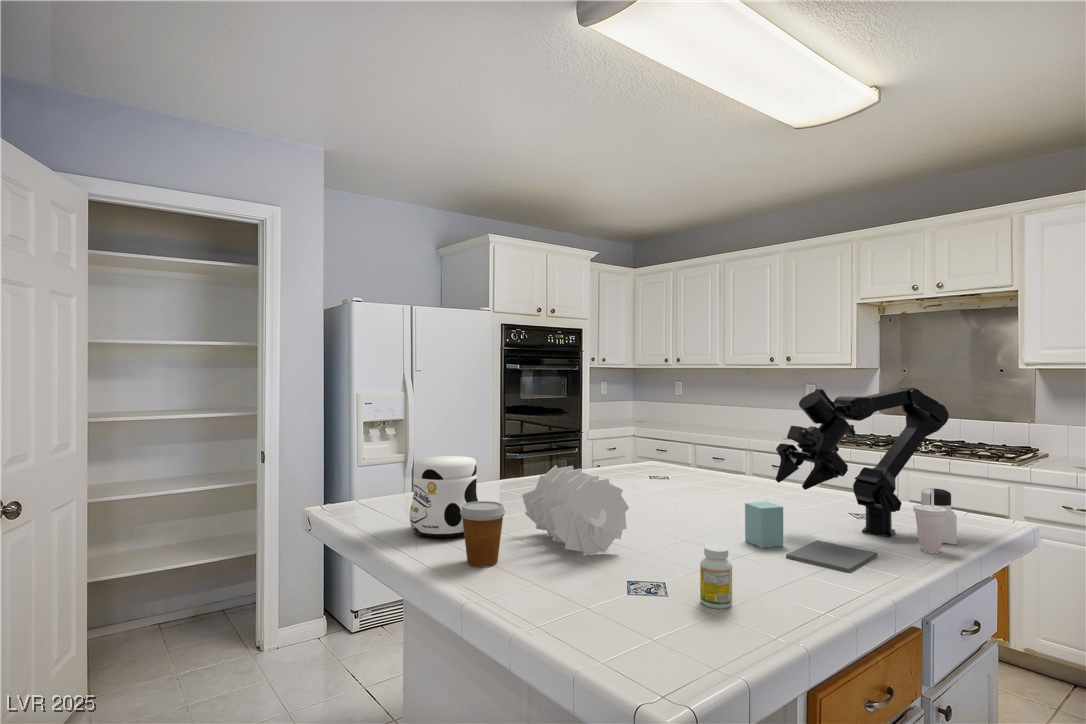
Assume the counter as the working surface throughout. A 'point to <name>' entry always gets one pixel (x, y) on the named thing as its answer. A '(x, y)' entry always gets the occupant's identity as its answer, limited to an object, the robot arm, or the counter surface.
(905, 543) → the counter surface
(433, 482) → the milk container
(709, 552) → the supplement bottle
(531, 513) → the spiral staircase
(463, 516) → the disposable coffee cup
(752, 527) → the pale teal box
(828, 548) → the mat
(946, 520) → the medicine bottle
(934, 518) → the smoothie
